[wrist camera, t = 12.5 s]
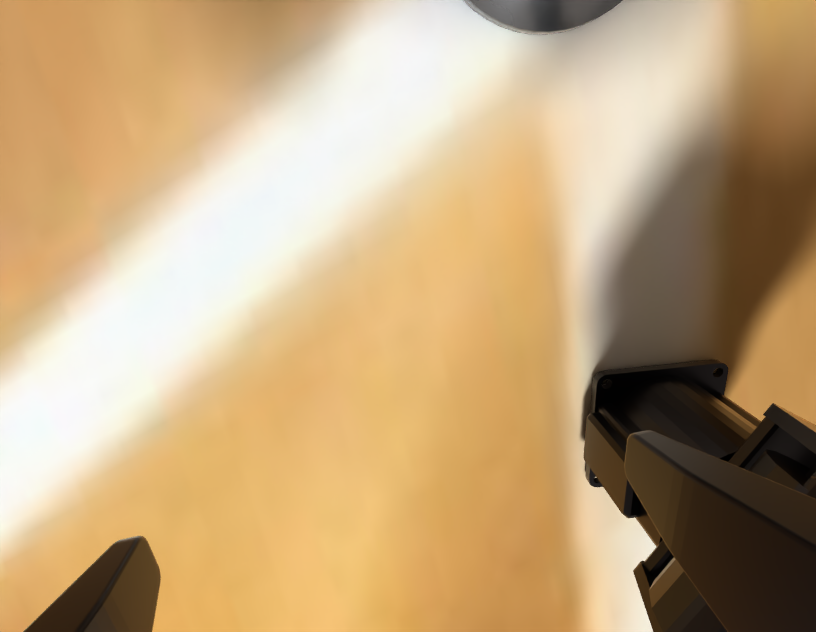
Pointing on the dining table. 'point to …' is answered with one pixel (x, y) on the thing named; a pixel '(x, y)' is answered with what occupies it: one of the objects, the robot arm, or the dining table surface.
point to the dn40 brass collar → (541, 13)
